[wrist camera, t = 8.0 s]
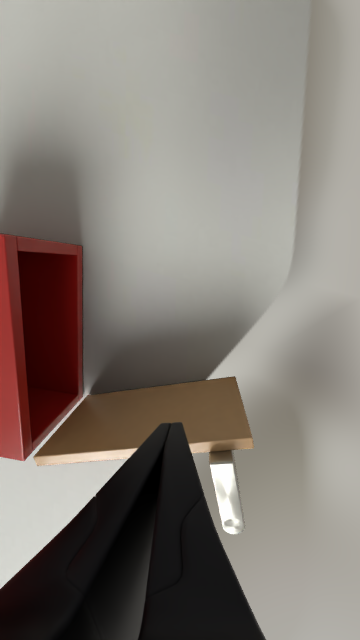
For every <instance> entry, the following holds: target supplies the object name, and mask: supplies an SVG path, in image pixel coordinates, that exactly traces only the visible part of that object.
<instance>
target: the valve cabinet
mask: <svg viewBox="0 0 360 640" xmlns="http://www.w3.org/2000/svg"><path fill="white" fill-rule="evenodd" d="M82 397H83V304H82V246H81V245H74V244H67V243H61V242H54V241H48V240H41V239H34V238H28V237H21V236H14V235H8V234H0V457H4V458H10V459H15V460H20V461H25V460H26V459H27V457H28V456H29V455H30V454H31V453H32V451H34V450H35V449H36V447H37V446H38V445H39V444H40V443H41V442H42V441H43V440H44V439H45V438H46V436H47V435H48V434H49V433H50V432H51V431H52V430H53V429H54V428H55V427H56V425H57V424H58V423H59V422H60V421H61V420H62V419H63V418H64V417H65V416H66V414H67V413H68V412H69V411H70V410H71V409H72V408H73V407H74V406H75V405H76V403H77V402H78V401H79V400H80V399H81V398H82Z"/></svg>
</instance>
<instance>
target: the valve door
mask: <svg viewBox="0 0 360 640" xmlns="http://www.w3.org/2000/svg"><path fill="white" fill-rule="evenodd" d="M173 422H182V424H183V427H184V430H185V433H186V437H187V440H188V443H189V447H190V450H191V453H201V452H209V464H210V469H211V474H212V479H213V483H214V488H215V493H216V498H217V503H218V508H219V512H220V517H221V522H222V527H223V529H224V530H225V531H226V532H228V533H230V534H239V533H241V532H243V531H244V529H245V522H244V516H243V509H242V503H241V497H240V491H239V485H238V478H237V472H236V466H235V460H234V453H233V450H238V449H251V448H254V445H253V438H252V434H251V431H250V427H249V424H248V420H247V416H246V413H245V410H244V406H243V402H242V399H241V396H240V392H239V389H238V385H237V381H236V378H235V377H227V378H219V379H211V380H203V381H196V382H188V383H180V384H172V385H165V386H157V387H149V388H142V389H134V390H126V391H118V392H111V393H103V394H95V395H88V396H87V397H86V398H85V399H84V400H83V401H82V402H81V403H80V405H79V406H78V407H77V408H76V409H75V410H74V411H73V412H72V414H71V415H70V416H69V417H68V418H67V419H66V420H65V422H64V423H63V424H62V425H61V426H60V427H59V428H58V429H57V431H56V432H55V433H54V434H53V435H52V436H51V437H50V439H49V440H48V441H47V442H46V443H45V444H44V445H43V447H42V448H41V449H40V450H39V451H38V452H37V453H36V454H35V456H34V460H35V462H36V464H37V466H42V465H54V464H67V463H79V462H91V461H103V460H116V459H128V458H130V456H131V455H132V454H133V453H134V452H135V451H136V450H137V449H138V448H139V447H140V445H141V444H142V443H143V442H144V441H145V440H146V439H147V438H148V437H149V436H150V435H151V433H152V432H153V431H154V430H155V429H156V428H157V427H158V426H159V425H160V424H161V423H171V424H172V423H173Z"/></svg>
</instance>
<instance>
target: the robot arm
mask: <svg viewBox="0 0 360 640" xmlns="http://www.w3.org/2000/svg"><path fill="white" fill-rule="evenodd" d="M0 640H266V639H265V637H264V635H263V633H262V631H261V629H260V627H259V625H258V623H257V621H256V619H255V616H254V614H253V612H252V610H251V608H250V606H249V604H248V602H247V599H246V597H245V595H244V592H243V590H242V588H241V586H240V584H239V581H238V579H237V577H236V575H235V572H234V570H233V568H232V566H231V563H230V561H229V559H228V557H227V555H226V552H225V550H224V548H223V545H222V543H221V541H220V539H219V536H218V533H217V531H216V529H215V526H214V523H213V520H212V517H211V515H210V512H209V508H208V506H207V502H206V499H205V497H204V492H203V489H202V486H201V483H200V479H199V476H198V473H197V470H196V466H195V463H194V460H193V456H192V453H191V450H190V447H189V443H188V440H187V437H186V433H185V430H184V427H183V424H182V422H173V423H172V424H171V423H161V424H160V425H159V426H158V427H157V428H156V429H155V430H154V431H153V432H152V433H151V435H150V436H149V437H148V438H147V439H146V440H145V441H144V442H143V443H142V444H141V445H140V447H139V448H138V449H137V450H136V451H135V452H134V453H133V454H132V455H131V456H130V458H129V459H128V460H127V461H126V462H125V463H124V464H123V465H122V466H121V467H120V469H119V470H118V471H117V472H116V473H115V474H114V475H113V476H112V477H111V478H110V479H109V481H108V482H107V483H106V484H105V485H104V486H103V487H102V488H101V489H100V490H99V492H98V493H97V494H96V497H93V498H92V499H91V500H90V501H89V502H88V503H87V505H86V506H85V507H84V508H83V509H82V510H81V511H80V512H79V513H78V514H77V515H76V516H75V517H74V518H73V519H72V520H71V522H70V523H69V524H68V525H67V526H66V527H65V528H64V529H62V530H61V531H60V532H59V533H58V534H57V535H56V536H55V537H54V538H53V539H52V540H51V541H50V542H49V543H48V544H47V545H46V546H45V547H44V548H43V549H42V550H41V551H40V552H39V553H38V554H37V555H36V556H35V557H33V558H32V559H31V560H30V561H29V562H28V563H27V564H26V565H25V566H24V567H23V568H22V569H21V570H20V571H19V572H18V573H17V574H16V575H15V576H14V577H12V578H11V579H10V580H9V581H8V582H7V583H6V584H5V585H4V586H3V587H2V588H1V589H0Z"/></svg>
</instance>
